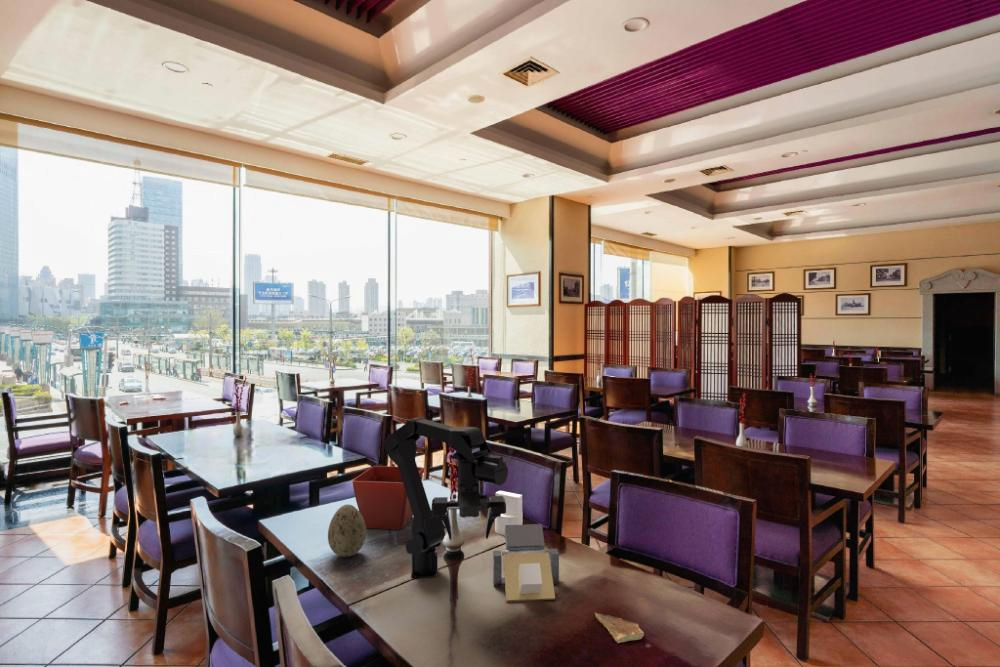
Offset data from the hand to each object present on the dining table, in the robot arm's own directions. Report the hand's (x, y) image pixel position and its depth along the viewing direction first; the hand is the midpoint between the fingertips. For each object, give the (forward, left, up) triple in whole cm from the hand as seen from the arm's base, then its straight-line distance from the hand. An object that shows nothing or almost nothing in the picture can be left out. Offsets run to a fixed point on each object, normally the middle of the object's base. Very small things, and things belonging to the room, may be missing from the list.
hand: (468, 538), depth 133 cm
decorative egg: (-35, +22, -13) cm, 43 cm away
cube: (+15, -4, -10) cm, 18 cm away
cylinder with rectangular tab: (+14, +37, -13) cm, 42 cm away
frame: (+15, +2, -13) cm, 20 cm away
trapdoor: (+15, +1, -8) cm, 17 cm away
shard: (+32, -21, -14) cm, 41 cm away
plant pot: (-26, +47, -13) cm, 55 cm away
